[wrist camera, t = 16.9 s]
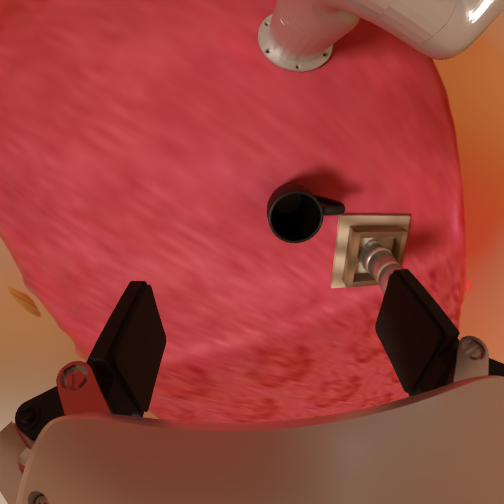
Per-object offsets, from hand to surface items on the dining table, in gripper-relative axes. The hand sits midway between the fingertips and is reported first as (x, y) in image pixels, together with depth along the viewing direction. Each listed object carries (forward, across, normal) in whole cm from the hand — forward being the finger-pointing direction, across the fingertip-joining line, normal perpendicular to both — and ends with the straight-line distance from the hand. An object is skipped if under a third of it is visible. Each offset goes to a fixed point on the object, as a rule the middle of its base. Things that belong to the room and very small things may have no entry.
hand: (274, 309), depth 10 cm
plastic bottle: (+38, -24, +18) cm, 48 cm away
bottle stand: (+38, -24, +18) cm, 49 cm away
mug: (+38, -8, +7) cm, 40 cm away
